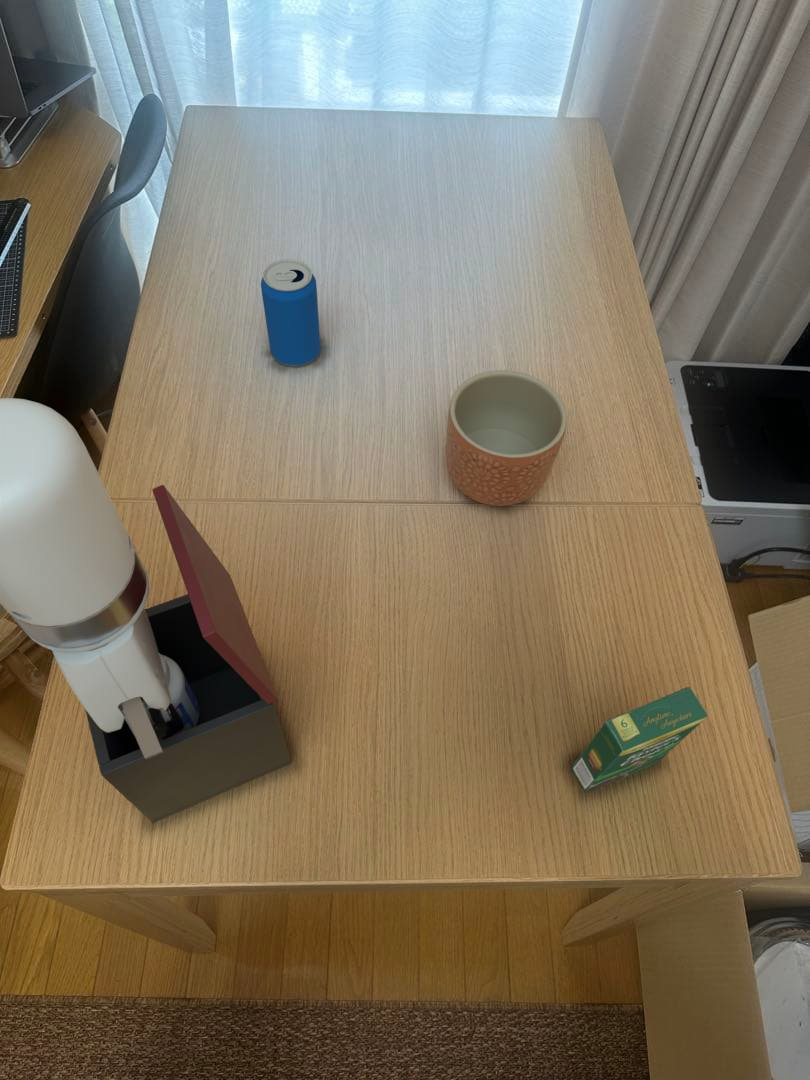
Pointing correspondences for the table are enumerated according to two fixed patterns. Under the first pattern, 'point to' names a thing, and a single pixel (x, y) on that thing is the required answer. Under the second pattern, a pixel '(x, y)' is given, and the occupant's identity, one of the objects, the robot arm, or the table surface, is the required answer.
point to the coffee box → (638, 739)
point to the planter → (503, 436)
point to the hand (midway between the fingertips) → (152, 696)
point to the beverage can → (291, 311)
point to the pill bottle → (180, 694)
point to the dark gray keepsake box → (194, 729)
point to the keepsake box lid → (214, 597)
